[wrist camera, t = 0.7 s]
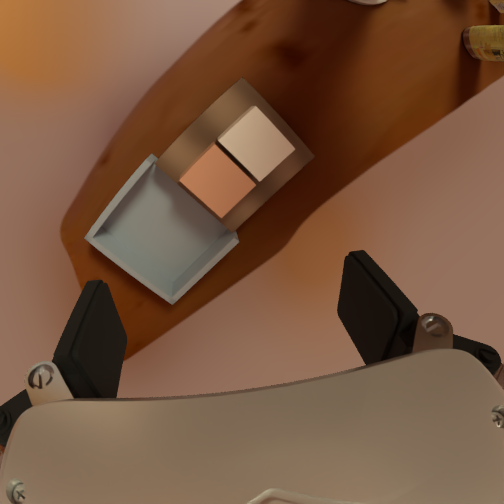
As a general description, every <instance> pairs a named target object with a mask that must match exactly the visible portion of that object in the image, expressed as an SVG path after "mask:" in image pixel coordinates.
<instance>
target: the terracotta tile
mask: <svg viewBox="0 0 504 504" xmlns="http://www.w3.org/2000/svg"><path fill="white" fill-rule="evenodd" d="M179 181H180V182H181V183H182V184H184V185H185V186H186V187H187V188H188V189H189V190H190V191H191V192H193V193H194V194H195V195H196V196H197V197H198V198H199V199H200V200H201V201H203V202H204V203H205V204H206V205H207V206H208V207H209V208H210V209H212V210H213V211H214V212H215V213H216V214H217V215H218V216H219V217H220V218H222V217H223V216H224V215H225V214H227V213H228V212H229V211H230V210H231V209H232V208H233V207H234V206H235V205H236V204H237V203H238V202H239V201H240V200H241V199H242V198H243V197H244V196H245V195H246V194H247V193H248V192H250V191H251V190H252V189H253V188H254V187H255V186H256V184H255V183H254V181H253V180H252V179H251V178H250V177H249V176H248V175H247V174H246V173H245V172H244V171H243V170H242V169H241V168H240V167H239V166H238V165H237V164H236V163H235V162H234V161H233V160H232V159H231V158H230V157H229V156H228V155H227V154H226V153H225V152H224V151H223V150H222V149H221V148H220V147H219V146H218V145H217V144H216V143H215V142H213V143H212V144H211V145H210V146H209V147H207V148H206V149H205V150H204V151H203V152H202V153H201V154H200V155H199V156H198V157H197V159H196V160H195V161H194V162H193V163H192V164H191V165H190V166H189V167H188V168H187V169H186V170H185V171H184V172H183V173H182V174H181V175H180V179H179Z"/></svg>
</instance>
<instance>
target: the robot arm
mask: <svg viewBox="0 0 504 504" xmlns="http://www.w3.org/2000/svg"><path fill="white" fill-rule="evenodd" d="M349 1H351V2H354V3H357V4H362V5H377V4H381V3H383V2H386V1H387V0H349ZM337 311H338V316H339V318H340V320H341V321H342V323H343V325H344V327H345V329H346V330H347V332H348V334H349V336H350V337H351V339H352V341H353V343H354V344H355V346H356V348H357V350H358V352H359V353H360V355H361V357H362V359H363V361H364V362H365V364H366V365H365V366H361V367H357V368H353V369H349V370H345V371H341V372H337V373H333V374H328V375H324V376H319V377H314V378H310V379H305V380H299V381H294V382H289V383H283V384H277V385H271V386H265V387H259V388H252V389H245V390H237V391H229V392H221V393H211V394H199V395H187V396H172V397H149V398H116V397H117V391H118V386H119V380H120V374H121V369H122V364H123V359H124V354H125V349H126V345H127V335H126V332H125V330H124V327H123V325H122V322H121V320H120V317H119V315H118V312H117V309H116V306H115V304H114V301H113V298H112V295H111V293H110V290H109V287H108V284H107V283H103V281H102V280H91V281H87V283H86V285H85V287H84V289H83V291H82V293H81V295H80V297H79V299H78V301H77V303H76V305H75V307H74V309H73V311H72V313H71V316H70V318H69V320H68V322H67V325H66V327H65V329H64V331H63V333H62V336H61V338H60V341H59V343H58V345H57V348H56V350H55V353H54V357H53V360H52V362H50V361H42V362H39V363H37V364H35V365H34V366H32V367H31V368H30V369H29V370H28V372H27V374H26V376H25V380H24V382H25V387H26V389H25V390H23V391H22V392H20V393H19V394H17V395H16V396H14V397H13V398H12V399H10V400H9V401H7V402H6V403H4V404H3V405H2V406H0V504H504V363H503V364H502V363H501V359H500V356H499V354H498V353H497V351H496V350H495V349H493V348H492V347H491V346H488V345H486V344H483V343H480V342H477V341H473V340H470V339H467V338H464V337H461V336H458V335H454V334H453V327H452V325H451V323H450V322H449V321H448V320H447V319H446V318H445V317H443V316H441V315H438V314H435V313H426V314H424V315H422V316H419V315H418V313H417V311H418V310H417V308H416V307H415V306H414V305H413V304H412V303H411V301H410V300H409V299H408V298H407V297H406V296H405V295H404V293H403V292H402V291H401V290H400V289H399V288H398V287H397V286H396V284H395V283H394V282H393V281H392V280H391V279H390V278H389V277H388V275H387V274H386V273H385V272H384V271H383V270H382V269H381V268H380V267H379V266H378V265H377V264H376V263H375V262H374V260H373V259H372V258H371V257H370V256H369V255H368V254H367V253H366V252H365V251H364V250H360V251H352V252H349V254H348V256H346V257H345V260H344V268H343V275H342V282H341V289H340V295H339V301H338V309H337Z"/></svg>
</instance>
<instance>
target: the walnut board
mask: <svg viewBox="0 0 504 504" xmlns="http://www.w3.org/2000/svg"><path fill="white" fill-rule="evenodd" d="M251 106H256V107H257V108H258V109H259V110H260V111H261V112H262V113H263V114H264V115H265V116H266V117H267V118H268V119H269V120H270V121H271V123H272V124H273V125H274V126H275V127H276V128H277V129H278V130H279V131H280V132H281V133H282V134H283V136H284V137H285V138H286V139H287V140H288V141H289V142H290V143H291V145H292V146H293V147H294V148H295V150H294V151H293V152H292V153H291V154H290V155H288V156H287V157H286V158H285V159H284V160H283V161H282V162H281V163H280V164H279V165H277V166H276V167H275V168H274V169H273V170H272V171H271V172H270V173H269V174H268V175H267V176H266V177H264V178H263V179H262V180H261V181H260V182H259V181H258V180H257V179H256V178H255V177H254V175H253V174H252V173H251V172H250V171H249V170H248V169H247V168H246V167H245V166H244V165H243V164H242V163H241V162H240V161H239V160H238V159H236V158H235V157H234V156H233V155H232V154H231V153H230V152H229V151H228V150H227V149H226V148H225V147H224V146H223V145H222V144H221V143H220V142H219V141H218V139H217V138H218V137H219V136H220V135H221V134H222V133H223V132H224V131H225V130H226V129H227V128H228V127H229V126H230V125H231V124H233V123H234V122H235V121H236V120H237V119H238V118H239V117H240V116H241V115H242V114H243V113H245V112H246V111H247V110H248V109H249V108H250V107H251ZM213 142H215V143H216V144H217V145H218V146H219V147H220V148H221V149H222V150H223V151H224V152H225V153H226V154H227V155H228V156H229V157H230V158H231V159H232V160H233V161H234V162H235V163H236V164H237V165H238V166H239V167H240V168H241V169H242V170H243V171H244V172H245V173H246V174H247V175H248V176H249V177H250V178H251V179H252V180H253V181H254V183H255V184H256V186H255V187H254V188H253V189H252V190H251V191H250V192H248V193H247V194H246V195H245V196H244V197H243V198H242V199H241V200H240V201H239V202H238V203H237V204H236V205H235V206H234V207H233V208H232V209H231V210H230V211H229V212H228V213H227V214H225V215H224V216H223V217H222V218H220V217H219V216H218V215H217V214H216V213H215V212H214V211H213V210H212V209H210V208H209V207H208V206H207V205H206V204H205V203H204V202H203V201H201V200H200V199H199V198H198V197H197V196H196V195H195V194H194V193H193V192H191V191H190V190H189V189H188V188H187V187H186V186H185V185H184V184H182V183H181V182H180V181H179V179H180V175H181V174H182V173H183V172H184V171H185V170H186V169H187V168H188V167H189V166H190V165H191V164H192V163H193V162H194V161H195V160H196V159H197V157H198V156H199V155H200V154H201V153H202V152H203V151H204V150H205V149H206V148H207V147H209V146H210V145H211V144H212V143H213ZM314 157H315V156H314V155H313V153H312V152H311V151H310V150H309V149H308V147H307V146H306V145H305V144H304V143H303V142H302V140H301V139H300V138H299V137H298V136H297V135H296V134H295V132H294V131H293V130H292V129H291V128H290V127H289V126H288V124H287V123H286V122H285V121H284V120H283V119H282V118H281V117H280V116H279V115H278V113H277V112H276V111H275V110H274V109H273V108H272V107H271V106H270V105H269V104H268V103H267V102H266V101H265V100H264V98H263V97H262V96H261V95H260V94H259V93H258V92H257V91H256V90H255V89H254V88H253V87H252V86H251V85H250V84H249V83H248V82H247V81H246V80H245V79H244V78H243V77H242V78H241V79H239V80H238V81H237V82H236V83H235V84H234V85H233V86H231V87H230V88H229V89H228V90H227V91H226V92H225V93H224V94H222V95H221V96H220V97H219V98H218V99H217V100H216V101H215V102H214V103H213V104H212V105H211V106H209V107H208V108H207V109H206V110H205V111H204V112H203V113H202V114H201V115H200V116H199V117H198V118H197V119H196V120H195V121H194V122H193V123H192V124H191V125H190V126H189V127H188V128H187V129H186V130H185V131H184V132H183V133H182V134H181V135H180V136H179V137H178V138H177V139H176V140H175V141H174V142H173V143H172V144H171V145H170V147H169V148H168V149H167V150H166V151H165V152H164V153H163V154H162V155H161V156H160V157H159V158H158V160H157V161H156V162H155V163H154V164H155V165H156V166H157V167H159V168H160V169H161V170H162V171H163V172H164V173H165V174H166V175H168V176H169V177H170V178H171V179H172V180H173V181H174V182H175V183H177V184H178V185H179V186H180V187H181V188H182V189H183V190H184V191H186V192H187V193H188V194H189V195H190V196H191V197H192V198H193V199H195V200H196V201H197V202H198V203H199V204H200V205H201V206H202V207H204V208H205V209H206V210H207V211H208V212H209V213H210V214H211V215H213V216H214V217H215V218H216V219H217V220H218V221H219V222H220V223H222V224H223V225H224V226H225V227H226V228H227V229H228V230H229V231H231V232H232V233H233V232H234V231H235V230H236V229H237V228H238V227H239V226H240V225H241V224H242V223H243V222H244V221H246V220H247V219H248V218H249V217H250V216H251V215H252V214H253V213H254V212H255V211H256V210H257V209H258V208H259V207H261V206H262V205H263V204H264V203H265V202H266V201H267V200H268V199H269V198H270V197H271V196H272V195H273V194H275V193H276V192H277V191H278V190H279V189H280V188H281V187H282V186H283V185H284V184H285V183H286V182H288V181H289V180H290V179H291V178H292V177H293V176H294V175H295V174H296V173H297V172H299V171H300V170H301V169H302V168H303V167H304V166H305V165H306V164H307V163H308V162H310V161H311V160H312V159H313V158H314Z"/></svg>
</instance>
